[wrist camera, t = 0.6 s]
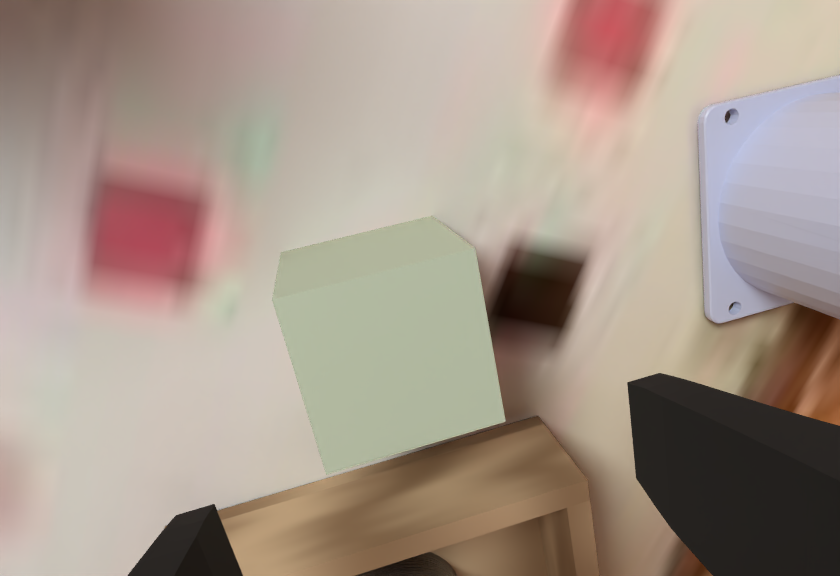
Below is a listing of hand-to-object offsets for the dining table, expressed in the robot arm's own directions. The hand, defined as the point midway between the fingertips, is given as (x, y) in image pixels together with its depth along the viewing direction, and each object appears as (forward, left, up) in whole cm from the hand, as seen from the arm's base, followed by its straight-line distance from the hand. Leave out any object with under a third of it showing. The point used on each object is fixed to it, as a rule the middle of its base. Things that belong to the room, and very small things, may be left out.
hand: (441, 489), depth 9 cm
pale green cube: (0, 0, -10) cm, 10 cm away
